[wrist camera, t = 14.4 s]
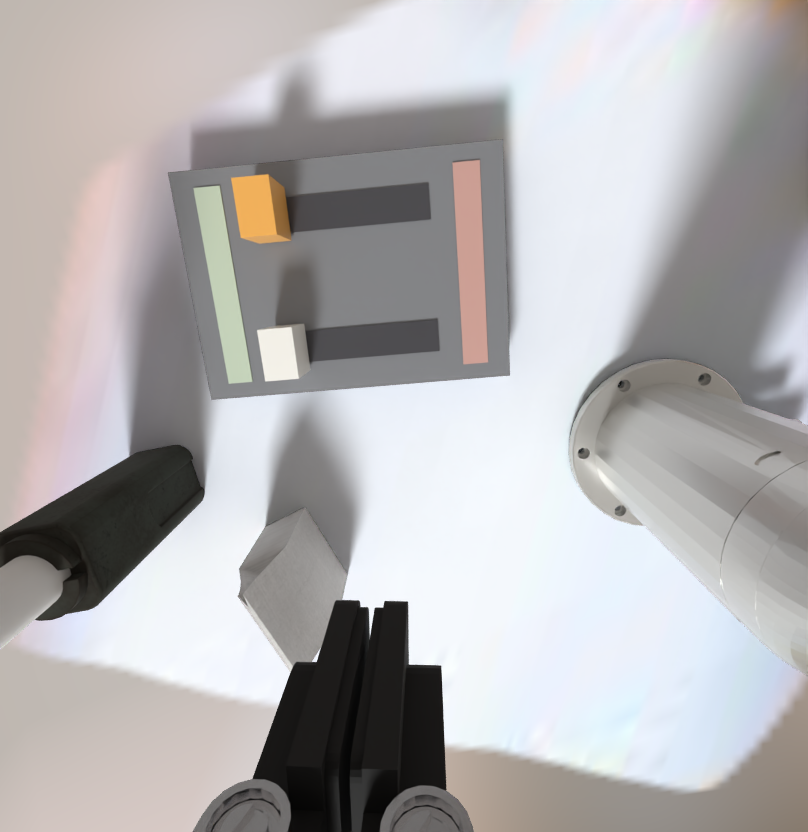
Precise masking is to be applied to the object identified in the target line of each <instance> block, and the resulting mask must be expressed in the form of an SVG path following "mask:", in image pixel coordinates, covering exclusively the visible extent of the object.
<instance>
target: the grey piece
mask: <svg viewBox="0 0 808 832" xmlns="http://www.w3.org/2000/svg"><path fill="white" fill-rule="evenodd" d="M239 570H240V579H241V587H240V592H239V595H238V598H239V599H240V600H241V602H242V603H243V605H244V606H245V608H246V609H247V611H248V612H249V613H250V615H251V616H252V618H253V619H254V621H255V622H256V623H257V625H258V626H259V628H260V629H261V631H262V632H263V633H264V635H265V636H266V638H267V639H268V641H269V642H270V643H271V645H272V646H273V648H274V649H275V651H276V652H277V653H278V655H279V656H280V658H281V659H282V661H283V662H284V664H285V665H286V666H287V668H288V669H289V671H290V672H291V670H292V668H293V666H294V664H295V663H296V662H312V660H313V659H314V657H315V655H316V654H317V652H318V651H319V649H320V648H321V646H322V643H323V640H324V636H325V633H326V630H327V626H328V623H329V619H330V616H331V613H332V609H333V606H334V603H335V601H336V600H342V598H343V593H344V589H345V584H346V580H347V573H346V571H345V570H344V568H343V567H342V565H341V563H340V562H339V560H338V559H337V557H336V555H335V554H334V552H333V551H332V549H331V547H330V546H329V544H328V543H327V541H326V539H325V538H324V536H323V535H322V533H321V531H320V530H319V528H318V527H317V525H316V523H315V522H314V520H313V519H312V517H311V515H310V514H309V512H308V511H307V509H306V507H304V508H302V509H300V510H298V511H296V512H294V513H292V514H290V515H288V516H286V517H284V518H282V519H280V520H278V521H276V522H274V523H272V524H270V525H268V526H266V527H265V528H264V530H263V531H262V533H261V534H260V536H259V538H258V539H257V541H256V543H255V544H254V546H253V547H252V549H251V551H250V552H249V554H248V555H247V557H246V559H245V560H244V562H243V563H242V565H241V567H240V568H239Z"/></svg>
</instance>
